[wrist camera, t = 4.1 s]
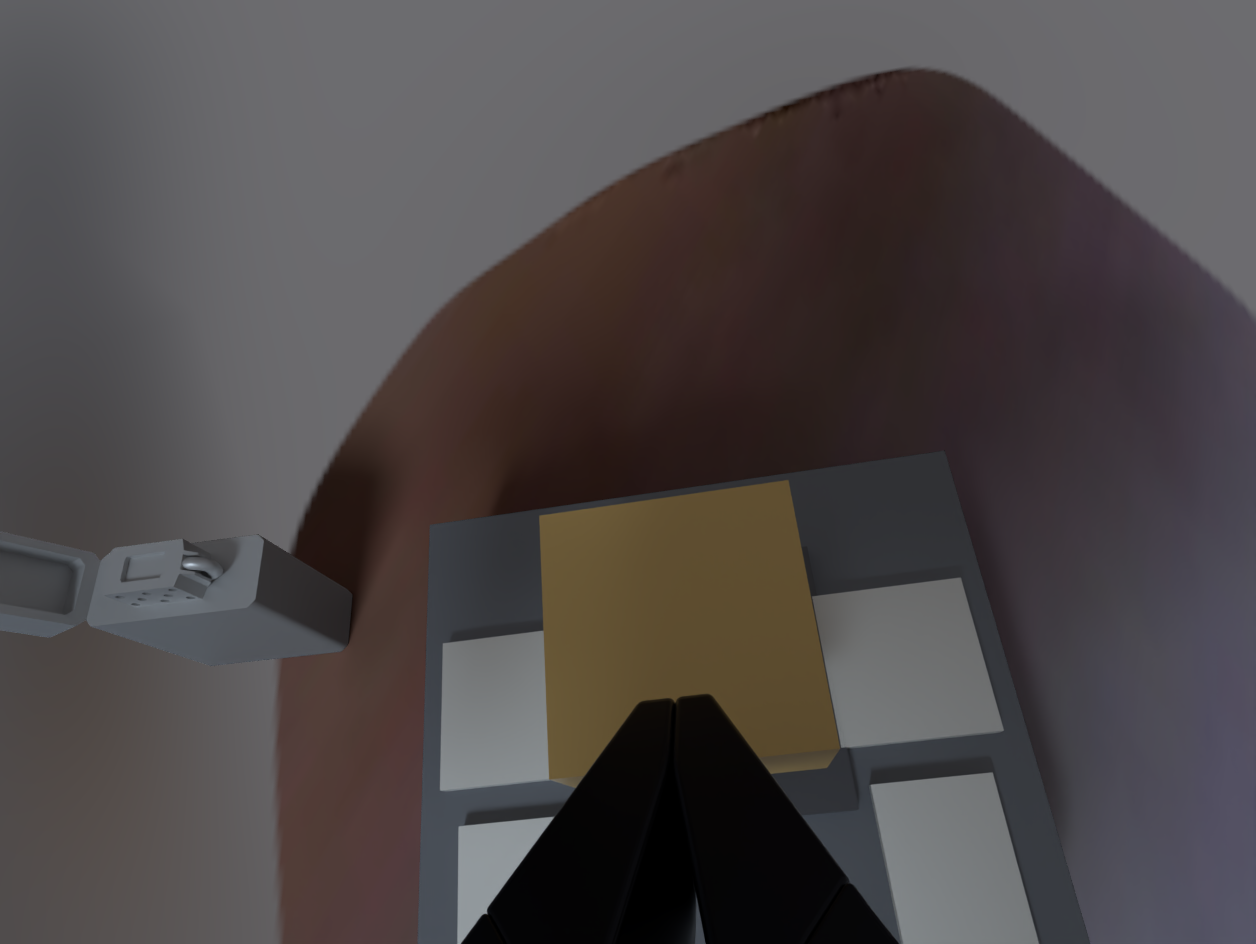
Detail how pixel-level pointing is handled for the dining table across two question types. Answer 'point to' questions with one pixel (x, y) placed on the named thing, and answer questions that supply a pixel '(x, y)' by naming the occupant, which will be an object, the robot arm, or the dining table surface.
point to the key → (683, 623)
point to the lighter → (177, 597)
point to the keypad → (826, 798)
